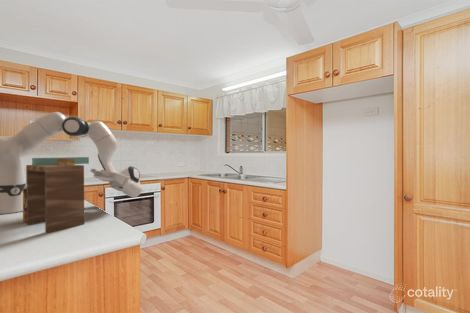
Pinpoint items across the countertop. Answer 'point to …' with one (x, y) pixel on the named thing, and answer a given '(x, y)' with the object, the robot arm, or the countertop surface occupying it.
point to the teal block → (54, 160)
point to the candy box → (24, 205)
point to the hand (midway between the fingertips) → (96, 170)
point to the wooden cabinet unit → (55, 194)
